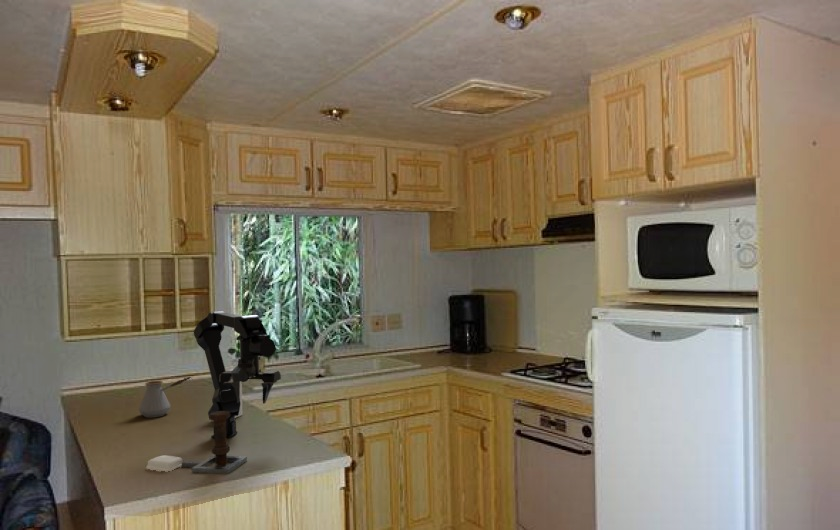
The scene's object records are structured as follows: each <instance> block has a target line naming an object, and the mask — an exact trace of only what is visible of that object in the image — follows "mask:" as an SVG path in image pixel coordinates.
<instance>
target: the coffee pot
mask: <svg viewBox="0 0 840 530" xmlns="http://www.w3.org/2000/svg"><path fill="white" fill-rule="evenodd" d="M190 379H191V380H190ZM187 381H189V382H191V383H192V382H193V377H191V376H187V377H184V378H183V379H180V380H179V379H178V380H177V381H175V382H173V383H172V384H169V385H168V386H165V387H162V384H164V382H163V381H162V380H153V381H148V382H145V383H144V385H145V386H146V390H145V392H144V396H143V397H142V400H141V403H140V405H139V407H138V412H139V414H140V415H142V416H144V417H145V418H149V419H150V418H158V417H159V418H160V417H164V416H165V415H166V414H167V413H168V412H169V411H170V409H171V403H170V401H169V400H168V398H167V396H166V394H165V392H164V391H166V390H168V389H169V388H170V389H171V388H172V387H175V386H178V385H181V384H182V383H184V382H187Z"/></svg>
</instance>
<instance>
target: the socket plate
mask: <svg viewBox="0 0 840 530" xmlns="http://www.w3.org/2000/svg"><path fill="white" fill-rule="evenodd" d="M215 459H216V457H215V455H211V456H209V457H207V458H206V459H195V458H194V459H193V458H192V459H191V458H190V459H189V458H188V459H186V460H184V461H182V467H181V468H191V473H195V474H197V472H198V473H202V474H223V475H224V474H226V475H227V474H230V473H232V472H233V471H235V470H236V469H237V468H239V467H241V464H242V465H243V464H244V462H245V463H246V462H247V461H248V457H247V456H240V455H239V456H236V455H235V456H234V455H233V456H232V455H227V463H230V464H229V465H228V466H226V467H224V466H210V465H211V464H212V462H213V463H215ZM209 464H210V465H209ZM238 466H239V467H238Z"/></svg>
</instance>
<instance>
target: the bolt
mask: <svg viewBox="0 0 840 530" xmlns="http://www.w3.org/2000/svg"><path fill="white" fill-rule="evenodd" d="M229 417H230V412H228V411H217V412H213V413H211V414H210V415H209V416H208V419H209V420H211V421H213V420H214V428H215V433H214V432H213V435H215V438H214V445H213V446H212V448H211V453H212V454H213V456H215V457H216V459H215V461H214V463H215V464H216V466H217V465H218V466H217V467H224V466H226V465H227V464H228V462H227V456H228V455H227V454H228V453H229V452H230V450H231V449H230V445H229V444H227V438H226V419H228V418H229Z"/></svg>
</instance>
